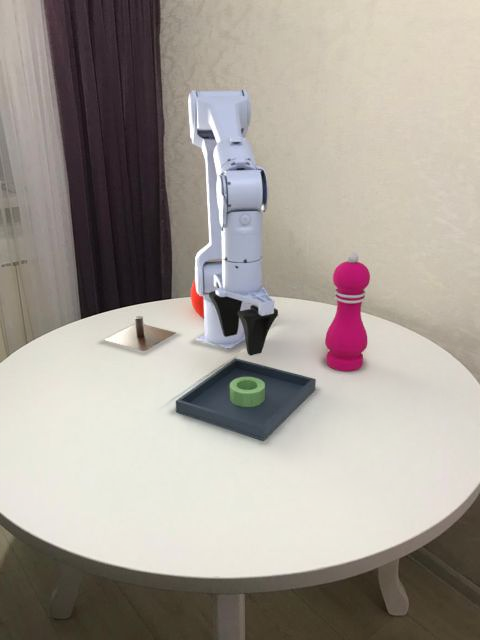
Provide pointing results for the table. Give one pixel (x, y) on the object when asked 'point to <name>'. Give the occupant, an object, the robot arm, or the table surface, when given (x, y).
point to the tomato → (197, 300)
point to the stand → (140, 336)
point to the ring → (247, 391)
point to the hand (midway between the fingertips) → (242, 343)
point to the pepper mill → (348, 316)
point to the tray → (257, 421)
